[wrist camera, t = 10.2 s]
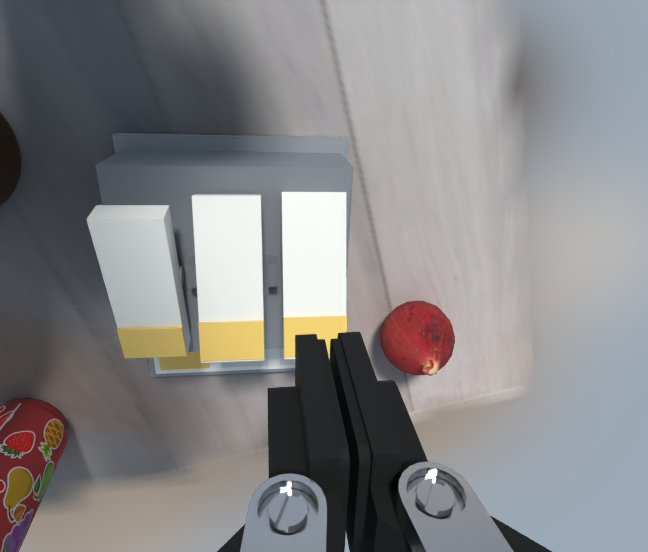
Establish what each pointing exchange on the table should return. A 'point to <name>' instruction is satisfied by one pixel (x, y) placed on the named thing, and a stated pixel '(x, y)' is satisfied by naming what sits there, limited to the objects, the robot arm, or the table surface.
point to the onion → (417, 338)
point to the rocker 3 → (313, 266)
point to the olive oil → (8, 161)
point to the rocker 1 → (142, 278)
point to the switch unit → (224, 178)
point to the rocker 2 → (229, 276)
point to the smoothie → (26, 464)
